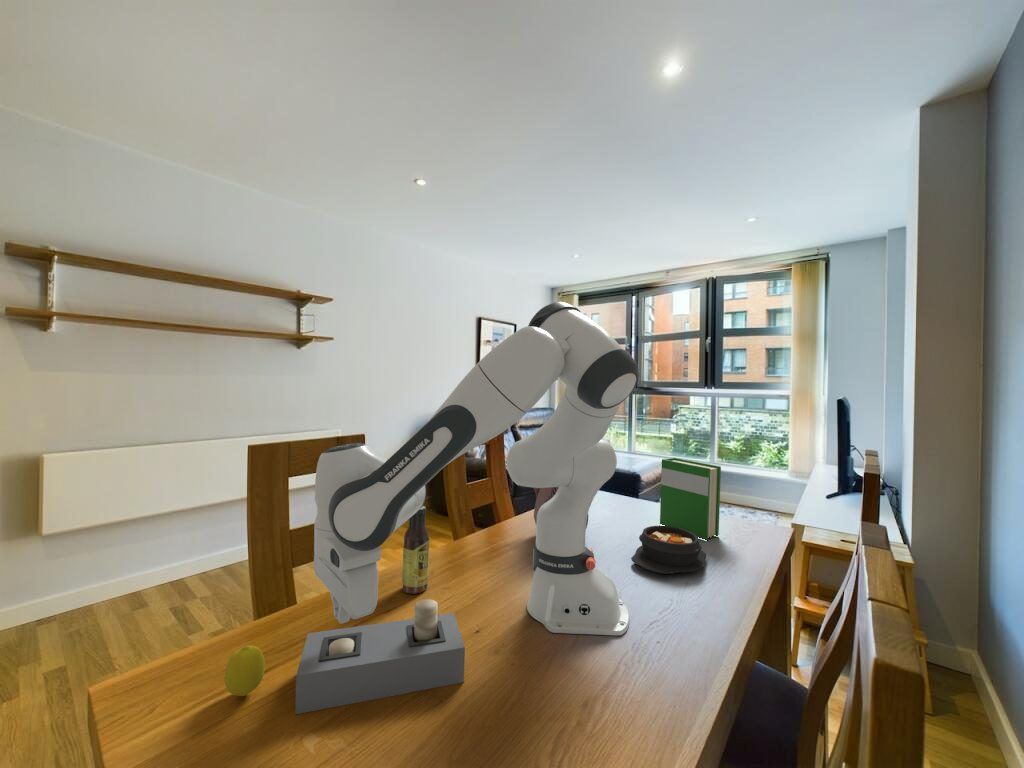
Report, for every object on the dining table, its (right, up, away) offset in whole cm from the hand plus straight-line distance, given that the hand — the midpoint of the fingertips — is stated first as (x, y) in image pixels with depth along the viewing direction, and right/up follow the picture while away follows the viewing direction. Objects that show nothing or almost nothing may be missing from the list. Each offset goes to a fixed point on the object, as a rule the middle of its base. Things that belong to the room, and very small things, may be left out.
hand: (341, 619), depth 73 cm
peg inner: (+14, -6, +3) cm, 15 cm away
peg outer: (0, -10, -1) cm, 10 cm away
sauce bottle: (+6, -10, +31) cm, 33 cm away
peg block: (+7, -10, +1) cm, 12 cm away
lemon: (-14, -10, -4) cm, 18 cm away
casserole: (+74, -12, +50) cm, 90 cm away
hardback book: (+90, -11, +76) cm, 118 cm away
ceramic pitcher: (+43, -10, +67) cm, 80 cm away
